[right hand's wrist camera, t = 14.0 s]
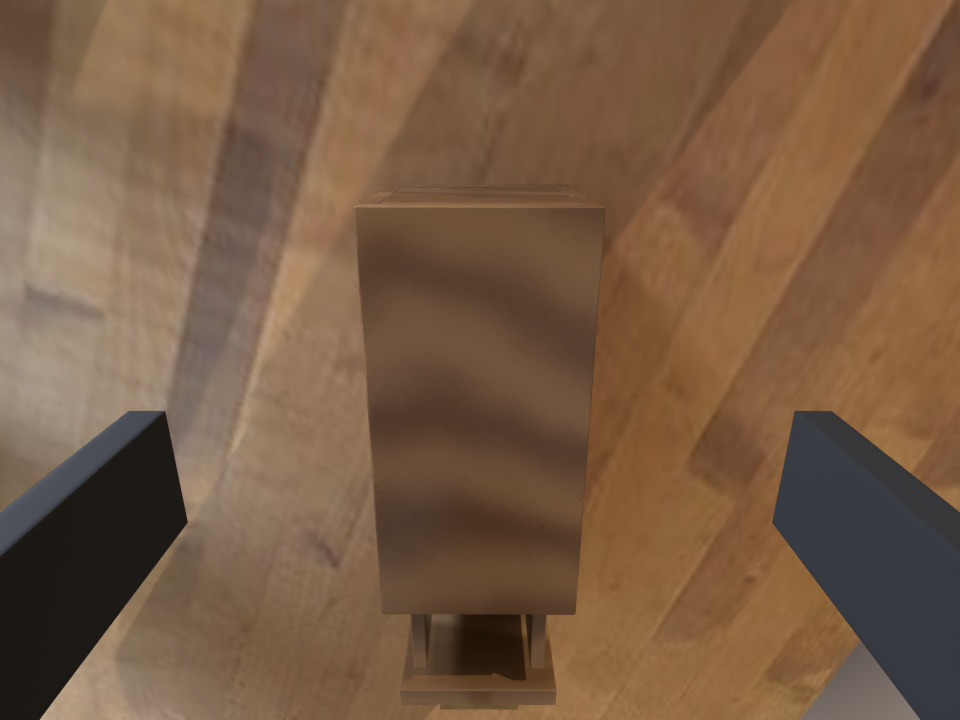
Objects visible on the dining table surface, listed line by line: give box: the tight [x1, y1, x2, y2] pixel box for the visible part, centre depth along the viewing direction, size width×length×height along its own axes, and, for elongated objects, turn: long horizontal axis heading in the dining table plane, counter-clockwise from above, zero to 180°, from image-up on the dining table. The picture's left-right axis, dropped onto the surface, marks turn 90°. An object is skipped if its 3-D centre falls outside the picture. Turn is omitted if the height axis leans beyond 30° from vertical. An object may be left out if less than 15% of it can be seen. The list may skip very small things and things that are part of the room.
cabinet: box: [354, 185, 605, 615], centre depth 34 cm, size 22×10×11 cm, turn 0°
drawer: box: [401, 614, 556, 710], centre depth 38 cm, size 26×9×9 cm, turn 0°
